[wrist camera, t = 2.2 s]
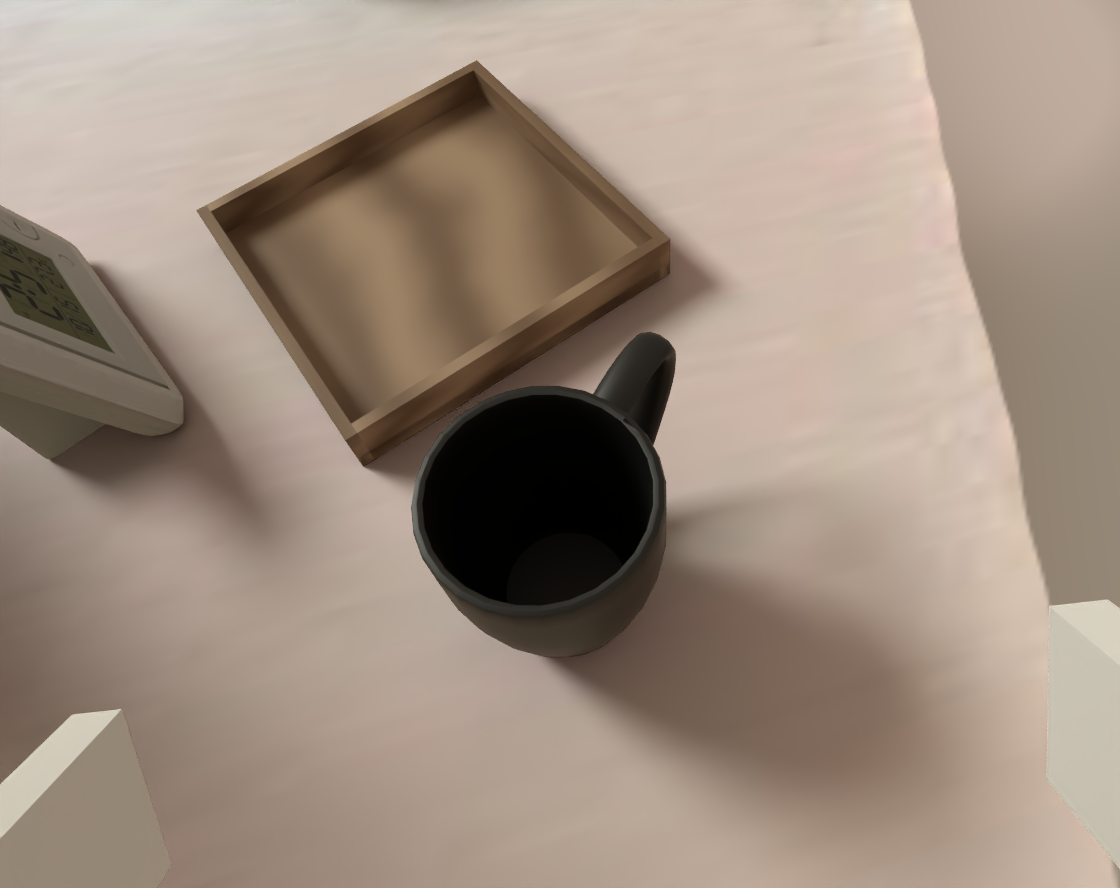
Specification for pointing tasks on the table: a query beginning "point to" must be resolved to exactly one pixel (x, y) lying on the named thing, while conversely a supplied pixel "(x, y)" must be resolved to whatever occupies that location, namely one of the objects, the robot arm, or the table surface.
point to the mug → (552, 506)
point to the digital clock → (70, 349)
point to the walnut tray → (432, 254)
